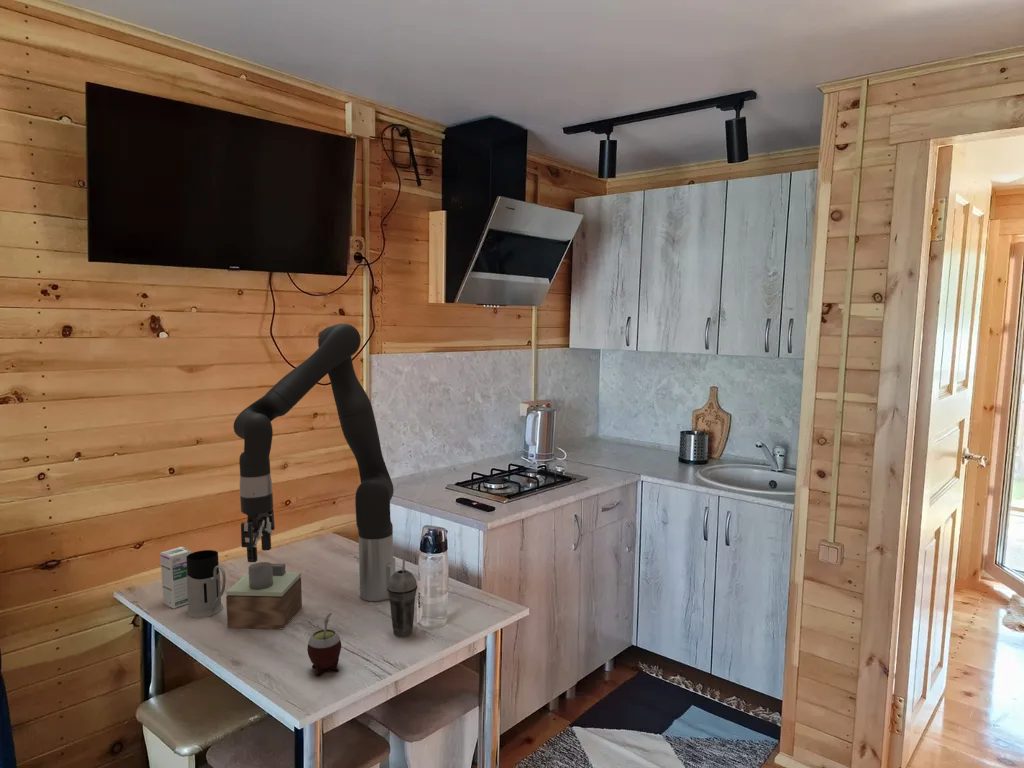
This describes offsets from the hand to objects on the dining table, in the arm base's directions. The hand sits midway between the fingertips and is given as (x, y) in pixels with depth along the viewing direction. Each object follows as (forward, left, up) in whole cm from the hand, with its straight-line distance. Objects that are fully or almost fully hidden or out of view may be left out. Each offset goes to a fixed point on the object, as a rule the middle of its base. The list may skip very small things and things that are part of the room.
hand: (259, 555), depth 170 cm
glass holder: (+16, -4, -17) cm, 24 cm away
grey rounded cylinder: (0, -1, -8) cm, 8 cm away
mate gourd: (-24, +22, -17) cm, 37 cm away
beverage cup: (-37, +4, -17) cm, 41 cm away
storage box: (0, -3, -17) cm, 17 cm away
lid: (0, -3, -9) cm, 9 cm away
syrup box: (+27, -10, -17) cm, 34 cm away
